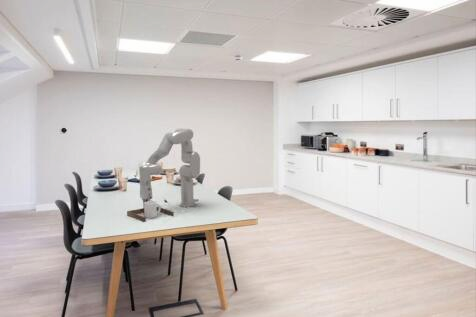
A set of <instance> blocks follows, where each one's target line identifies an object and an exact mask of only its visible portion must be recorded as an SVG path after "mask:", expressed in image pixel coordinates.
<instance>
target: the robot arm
mask: <svg viewBox="0 0 476 317" xmlns="http://www.w3.org/2000/svg"><path fill="white" fill-rule="evenodd" d="M193 137H194V131H193V130H192V129H191V128H177V129H175V130H174V132H167V133H165V134H164V135H163V138H162V140H161V142H160V144H159V145H158V148H157V149H156V150H155V151H154V152H153V153H152V154H151V155H150V156H149V157H148V159H147V161H146V163H145V164H144V165H143V164H142V165H140V166H139V167H138V169H139V172H138V173H139V197H140V198H141V199H140V200H142V203H143V207H144V202H148V201H151V199H153V189H152V182H151V180H152V178H151V177H152V176H154V175H155V176H158V175H160V174H161V173H162V171H163V168H162V166H161V165H159V164H157V163H158V162H159V161H160V160H161V159H164V158H165V157H167V156H169V154H170V152H171V150H172V147H173V145H180V146H181V151H180V153H181V154H180V156H181V159H180V160H181V162H182V163H185V164H183V165H181V166H180V168H179V170H178V173H179V178H180V198H181V199H180V200H181V201H180V203H179V207H182V208H190V207H194V206H196V203H197V202H199V201H200V200H199V198H194V180H193V179H197V178H198V177H199V176H200V173H201V156H200V154H199V153H198V152H197V151H194V150H193V143H192V139H193Z"/></svg>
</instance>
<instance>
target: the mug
mask: <svg viewBox="0 0 476 317" xmlns="http://www.w3.org/2000/svg"><path fill="white" fill-rule="evenodd" d="M157 207H159V210H158V211H157ZM143 208H144V213H143V214H144V217H146V220H147V219H156V218H157V217H158V214H159V213H161V212H160V210H161V208H162V207H161V205H160V204H159V203H157V201H153V200H150V201H148V202H144V206H143Z"/></svg>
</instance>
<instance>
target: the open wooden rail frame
mask: <svg viewBox="0 0 476 317" xmlns="http://www.w3.org/2000/svg"><path fill="white" fill-rule="evenodd" d="M158 210H159V207H158V206H157V211H158ZM159 213H161V214H165V215H168V216H171V217H174V211H173V210H170V209H166V208H164V207H161V210H160V212H159ZM141 214H144V207H143V208H137V209H132V210H127V211H126V216H128V217H130V218H133V219H135V220H139V221H140V222H143V223H146V222H147V218H146V217H145V216H143V215H141Z"/></svg>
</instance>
